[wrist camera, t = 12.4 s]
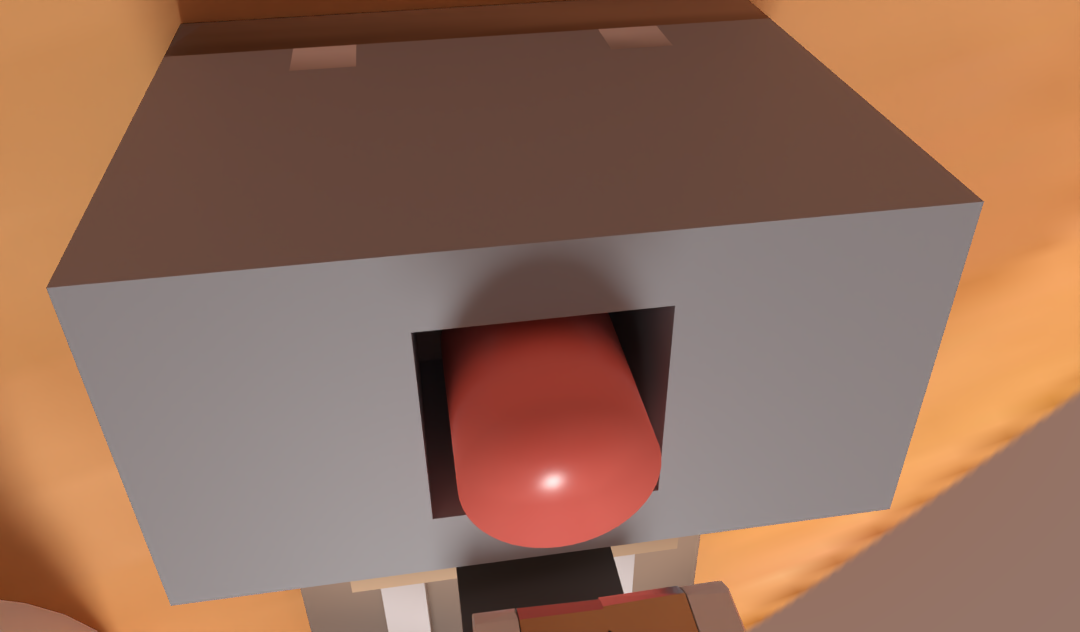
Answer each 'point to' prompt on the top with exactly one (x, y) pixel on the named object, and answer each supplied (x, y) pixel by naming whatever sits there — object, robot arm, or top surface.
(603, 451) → the button
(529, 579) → the carriage
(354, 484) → the end cabinet
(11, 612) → the base with upright slab
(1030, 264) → the top surface
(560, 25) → the rail board
